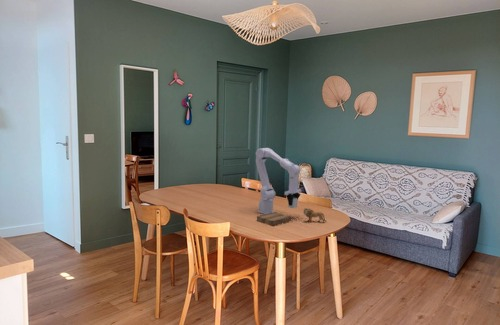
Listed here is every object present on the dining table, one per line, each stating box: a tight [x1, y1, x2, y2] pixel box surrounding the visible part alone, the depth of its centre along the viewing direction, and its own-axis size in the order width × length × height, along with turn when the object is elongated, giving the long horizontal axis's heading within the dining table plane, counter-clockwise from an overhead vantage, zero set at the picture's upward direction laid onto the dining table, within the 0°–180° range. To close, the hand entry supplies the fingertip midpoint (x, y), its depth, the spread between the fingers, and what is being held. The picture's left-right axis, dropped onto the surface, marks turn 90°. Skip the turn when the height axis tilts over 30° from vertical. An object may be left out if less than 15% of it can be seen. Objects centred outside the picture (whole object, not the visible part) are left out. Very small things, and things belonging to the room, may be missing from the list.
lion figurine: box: [303, 207, 327, 224], centre depth 229 cm, size 15×5×9 cm, turn 91°
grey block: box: [287, 197, 298, 209], centre depth 235 cm, size 4×4×6 cm
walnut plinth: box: [256, 211, 292, 227], centre depth 228 cm, size 14×16×3 cm
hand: (292, 204), depth 235 cm, fingers closed on grey block, 4 cm apart
